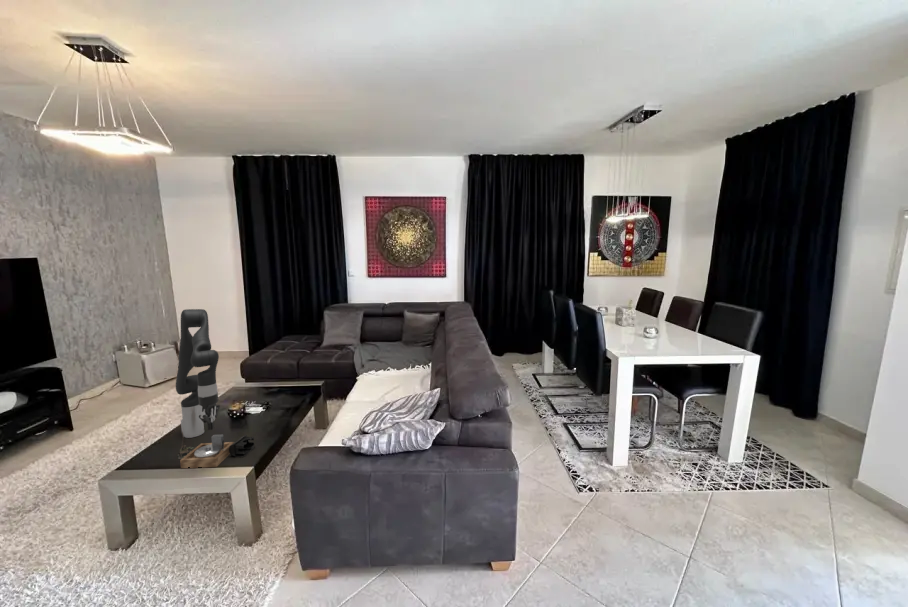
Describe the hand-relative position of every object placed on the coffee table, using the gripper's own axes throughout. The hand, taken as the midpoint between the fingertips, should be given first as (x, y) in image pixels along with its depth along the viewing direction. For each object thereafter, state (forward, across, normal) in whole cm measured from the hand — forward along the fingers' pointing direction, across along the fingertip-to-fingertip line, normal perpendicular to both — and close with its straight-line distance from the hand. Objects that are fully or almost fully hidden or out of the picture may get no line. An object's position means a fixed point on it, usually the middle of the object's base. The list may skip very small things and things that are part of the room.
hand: (211, 429), depth 171 cm
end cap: (+18, -12, +7) cm, 23 cm away
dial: (+15, -6, -5) cm, 17 cm away
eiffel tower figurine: (+18, -11, -20) cm, 29 cm away
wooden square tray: (+18, -6, -6) cm, 20 cm away
